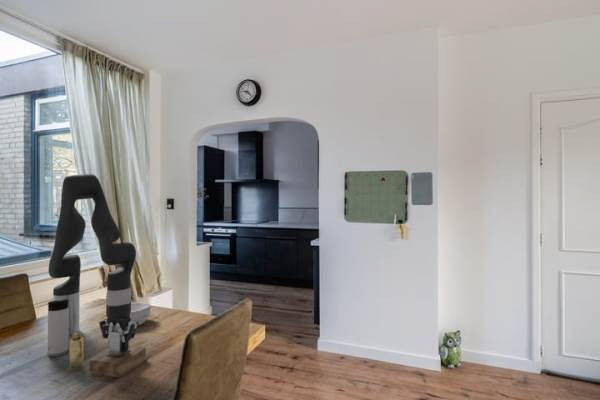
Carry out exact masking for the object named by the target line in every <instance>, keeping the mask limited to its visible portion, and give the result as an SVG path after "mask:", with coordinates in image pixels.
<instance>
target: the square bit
mask: <svg viewBox="0 0 600 400" xmlns="http://www.w3.org/2000/svg"><path fill="white" fill-rule="evenodd" d="M125 331H126V330H124V331H123V332H125ZM120 333H121V332H118V328H117V326H116V325H114V328H113V331H112V332H111V331H110V332H109V341H108V349H109V357H115V358H121V357H123V356H124V355H126V354H127V353H128V350H127V351H126V352H124V353H122V352H121V342H122V340H121V336H120Z"/></svg>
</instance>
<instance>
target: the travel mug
mask: <svg viewBox="0 0 600 400" xmlns="http://www.w3.org/2000/svg"><path fill="white" fill-rule="evenodd" d="M68 308H69V307H68V300H67V299H65V300H60V301H57V300H55V301H53V300H51V301H48V302H47V356H48V357H53V358H55V357H60V356H64V355H65V354H66V353H68V352H69V351H70V339H69V337H70V336H69V309H68Z"/></svg>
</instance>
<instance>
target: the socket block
mask: <svg viewBox="0 0 600 400" xmlns="http://www.w3.org/2000/svg"><path fill="white" fill-rule="evenodd" d="M146 351H147V350H146V347H144V346H134V345H129V348H128V353H127V354H126V355H124V356H123V357H121V358H115V357H109V348H107V349H106V350H104V351H102V352H101V353H100V354H98V355H96V356H94V357H92V358H91V359H89V375H97V376H105V377H113V378H123V377H124V376H126V375H127V374H129V373H130V372H131V371H133V370H134V369H136V367H139V366H140V365H141V364H142V363H143V362H145V361H146V359H147V358H146V355H147V354H146Z"/></svg>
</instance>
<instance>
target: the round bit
mask: <svg viewBox="0 0 600 400" xmlns="http://www.w3.org/2000/svg"><path fill="white" fill-rule="evenodd" d="M71 336H72V337H71V338H70V339H69V364H68V365H69V372H77V371H81V370H83V369H84V367H85V363H84V362H85V360H84V358H85V357H84V356H85V353H84V352H85V351H84V349H85V346H84V345H85V340H84V339H85V337H84V336H82V332H81V331H79V332H75V333H73V334H72V335H71Z"/></svg>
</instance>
